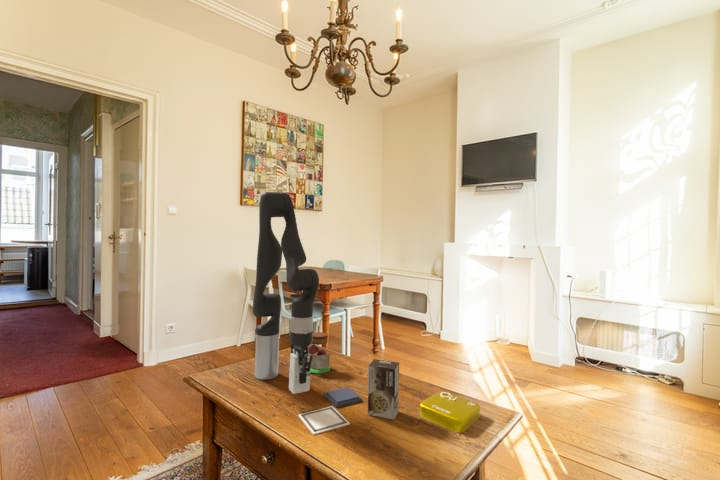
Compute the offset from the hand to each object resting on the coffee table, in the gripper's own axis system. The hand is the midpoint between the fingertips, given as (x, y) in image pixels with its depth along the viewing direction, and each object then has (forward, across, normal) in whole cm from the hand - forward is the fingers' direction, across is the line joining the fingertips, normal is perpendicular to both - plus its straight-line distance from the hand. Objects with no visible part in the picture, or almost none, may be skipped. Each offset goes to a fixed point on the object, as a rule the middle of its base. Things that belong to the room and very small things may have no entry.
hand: (299, 379), depth 114 cm
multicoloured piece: (+10, -27, +19) cm, 35 cm away
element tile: (+9, +29, +40) cm, 50 cm away
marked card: (+9, +12, +4) cm, 15 cm away
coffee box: (+9, +17, +22) cm, 29 cm away
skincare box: (+4, 0, 0) cm, 4 cm away
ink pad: (+9, +2, +16) cm, 18 cm away
